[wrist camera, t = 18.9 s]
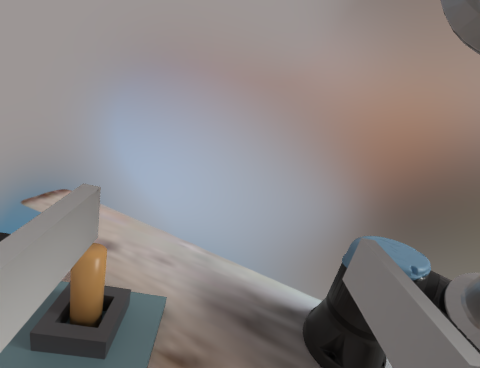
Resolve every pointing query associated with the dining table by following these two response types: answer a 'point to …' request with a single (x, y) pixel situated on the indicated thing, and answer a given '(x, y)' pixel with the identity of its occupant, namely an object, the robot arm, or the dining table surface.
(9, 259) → the robot arm
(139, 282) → the dining table surface
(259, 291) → the dining table surface
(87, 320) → the cylinder
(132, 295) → the dock
